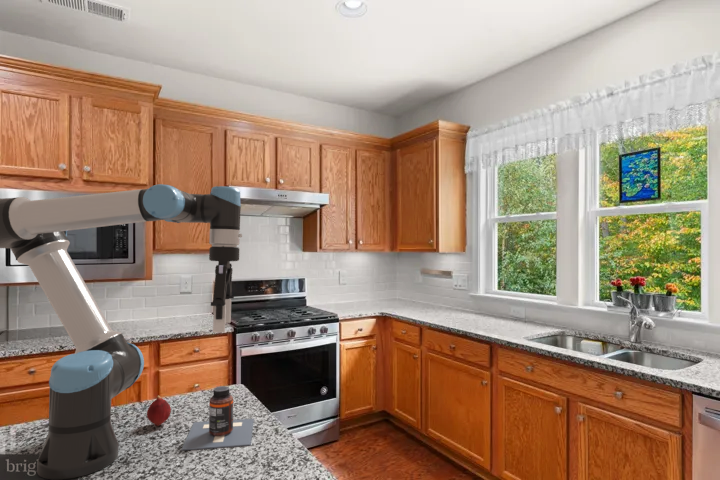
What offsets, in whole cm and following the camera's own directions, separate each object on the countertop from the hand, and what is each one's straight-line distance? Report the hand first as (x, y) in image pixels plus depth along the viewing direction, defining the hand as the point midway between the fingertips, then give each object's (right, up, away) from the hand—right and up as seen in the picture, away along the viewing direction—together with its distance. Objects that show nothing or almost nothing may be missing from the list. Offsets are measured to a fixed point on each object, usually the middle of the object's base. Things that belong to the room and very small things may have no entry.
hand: (222, 327), depth 111 cm
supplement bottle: (0, -27, -1) cm, 27 cm away
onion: (-18, -28, +4) cm, 33 cm away
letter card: (0, -28, -1) cm, 28 cm away
